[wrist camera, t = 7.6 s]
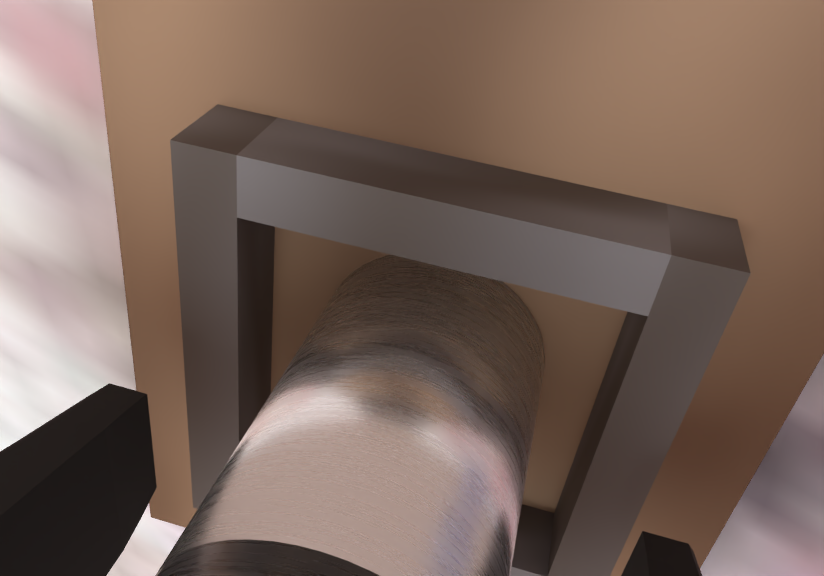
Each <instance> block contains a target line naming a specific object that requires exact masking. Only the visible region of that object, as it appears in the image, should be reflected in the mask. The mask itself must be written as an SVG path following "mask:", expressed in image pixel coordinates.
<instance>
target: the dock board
mask: <svg viewBox="0 0 824 576" xmlns="http://www.w3.org/2000/svg"><path fill="white" fill-rule="evenodd" d="M92 2H93V10H94V19H95V28H96V37H97V46H98V54H99V63H100V72H101V81H102V90H103V99H104V107H105V116H106V125H107V134H108V143H109V152H110V160H111V169H112V178H113V187H114V196H115V204H116V213H117V222H118V231H119V240H120V249H121V257H122V266H123V275H124V284H125V293H126V302H127V310H128V319H129V328H130V337H131V346H132V354H133V363H134V372H135V381H136V390H137V391H138V392H142V393H145V394H147V397H148V406H149V416H150V426H151V436H152V445H153V455H154V465H155V475H156V484H157V488H156V490H155V492H154V494H153V496H152V498H151V500H150V502H149V504H150V513H151V517H152V518H156V519H159V520H162V521H166V522H169V523H172V524H176V525H179V526H182V527H187V525H188V524H189V522H190V521H191V519H192V517H193V516H194V514H195V513H196V511H197V509H198V508H199V506H200V505H201V503H202V502H203V500H204V498H205V497H206V495H207V494H208V492H209V490H210V489H211V487H212V486H213V484H214V483H215V481H216V479H217V478H218V476H219V475H220V473H221V471H222V470H223V468H224V467H225V465H226V464H227V462H228V460H229V459H230V457H231V456H232V454H233V452H234V451H235V449H236V448H237V446H238V445H239V443H240V441H241V440H242V438H243V437H244V435H245V434H246V432H247V430H248V429H249V427H250V426H251V424H252V422H253V421H254V419H255V418H256V416H257V415H258V413H259V411H260V410H261V408H262V407H263V405H264V403H265V402H266V400H267V399H268V397H269V396H270V394H271V392H272V391H273V389H274V388H275V386H276V384H277V383H278V381H279V380H280V378H281V377H282V375H283V373H284V372H285V370H286V369H287V367H288V365H289V364H290V362H291V361H292V359H293V358H294V356H295V354H296V353H297V351H298V350H299V348H300V347H301V345H302V343H303V342H304V340H305V339H306V337H307V335H308V334H309V332H310V331H311V329H312V328H313V326H314V324H315V323H316V321H317V320H318V318H319V316H320V315H321V313H322V312H323V310H324V309H325V307H326V305H327V304H328V302H329V301H330V299H331V297H332V296H333V294H334V293H335V291H336V290H337V288H338V287H339V286H340V284H341V283H342V282H343V281H344V280H345V279H346V278H347V277H348V276H349V275H350V274H351V273H352V272H354V271H355V270H356V269H358V268H359V267H361V266H362V265H364V264H366V263H368V262H370V261H373V260H375V259H377V258H381V257H384V256H387V255H395V256H399V257H403V258H407V259H411V260H415V261H419V262H424V263H428V264H432V265H436V266H440V267H444V268H449V269H453V270H457V271H461V272H465V273H469V274H473V275H478V276H482V277H486V278H490V279H494V280H498V281H502V282H504V283H505V284H506V285H507V286H508V287H510V288H511V289H512V290H513V291H514V292H515V293H516V294H517V295H518V296H519V297H520V299H521V300H522V301H523V302H524V303H525V305H526V306H527V307H528V309H529V311H530V312H531V314H532V315H533V317H534V319H535V321H536V323H537V325H538V328H539V330H540V333H541V336H542V340H543V344H544V352H545V368H544V374H543V380H542V386H541V392H540V398H539V404H538V410H537V416H536V422H535V428H534V434H533V440H532V446H531V452H530V458H529V464H528V470H527V476H526V482H525V488H524V494H523V500H522V506H521V512H520V518H519V524H518V530H517V536H516V542H515V548H514V554H513V560H512V566H511V572H510V576H621V575H622V573H623V570H624V568H625V566H626V564H627V562H628V560H629V558H630V556H631V554H632V552H633V550H634V548H635V545H636V543H637V541H638V539H639V537H640V535H641V533H642V531H645V532H648V533H652V534H655V535H659V536H663V537H666V538H670V539H674V540H677V541H681V542H684V543H688V544H689V545H690V547H691V548H692V550H693V551H694V554H695V557H696V560H697V563H698V565H699V568H701V566H702V564H703V562H704V561H705V559H706V557H707V555H708V554H709V552H710V550H711V548H712V547H713V545H714V543H715V541H716V540H717V538H718V536H719V535H720V533H721V531H722V529H723V528H724V526H725V524H726V522H727V521H728V519H729V517H730V515H731V514H732V512H733V510H734V508H735V507H736V505H737V503H738V501H739V500H740V498H741V496H742V495H743V493H744V491H745V489H746V488H747V486H748V484H749V482H750V481H751V479H752V477H753V475H754V474H755V472H756V470H757V468H758V467H759V465H760V463H761V461H762V460H763V458H764V456H765V455H766V453H767V451H768V449H769V448H770V446H771V444H772V442H773V441H774V439H775V437H776V435H777V434H778V432H779V430H780V428H781V427H782V425H783V423H784V421H785V420H786V418H787V416H788V415H789V413H790V411H791V409H792V408H793V406H794V404H795V402H796V401H797V399H798V397H799V395H800V394H801V392H802V390H803V388H804V387H805V385H806V383H807V381H808V380H809V378H810V376H811V375H812V373H813V371H814V369H815V368H816V366H817V364H818V362H819V361H820V359H821V357H822V355H823V354H824V0H92Z"/></svg>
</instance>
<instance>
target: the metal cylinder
mask: <svg viewBox="0 0 824 576" xmlns="http://www.w3.org/2000/svg"><path fill="white" fill-rule="evenodd" d="M544 368H545V352H544V344H543V340H542V336H541V333H540V330H539V328H538V325H537V323H536V321H535V319H534V317H533V315H532V314H531V312H530V311H529V309H528V307H527V306H526V305H525V303H524V302H523V301H522V300H521V299H520V297H519V296H518V295H517V294H516V293H515V292H514V291H513V290H512V289H511V288H510V287H508V286H507V285H506V284H505V283H504V282H502V281H498V280H494V279H490V278H486V277H482V276H478V275H473V274H469V273H465V272H461V271H457V270H453V269H449V268H444V267H440V266H436V265H432V264H428V263H424V262H419V261H415V260H411V259H407V258H403V257H399V256H395V255H387V256H384V257H381V258H377V259H375V260H373V261H370V262H368V263H366V264H364V265H362V266H361V267H359V268H358V269H356V270H355V271H354V272H352V273H351V274H350V275H349V276H348V277H347V278H346V279H345V280H344V281H343V282H342V283H341V284H340V286H339V287H338V288H337V290H336V291H335V293H334V294H333V296H332V297H331V299H330V301H329V302H328V304H327V305H326V307H325V309H324V310H323V312H322V313H321V315H320V316H319V318H318V320H317V321H316V323H315V324H314V326H313V328H312V329H311V331H310V332H309V334H308V335H307V337H306V339H305V340H304V342H303V343H302V345H301V347H300V348H299V350H298V351H297V353H296V354H295V356H294V358H293V359H292V361H291V362H290V364H289V365H288V367H287V369H286V370H285V372H284V373H283V375H282V377H281V378H280V380H279V381H278V383H277V384H276V386H275V388H274V389H273V391H272V392H271V394H270V396H269V397H268V399H267V400H266V402H265V403H264V405H263V407H262V408H261V410H260V411H259V413H258V415H257V416H256V418H255V419H254V421H253V422H252V424H251V426H250V427H249V429H248V430H247V432H246V434H245V435H244V437H243V438H242V440H241V441H240V443H239V445H238V446H237V448H236V449H235V451H234V452H233V454H232V456H231V457H230V459H229V460H228V462H227V464H226V465H225V467H224V468H223V470H222V471H221V473H220V475H219V476H218V478H217V479H216V481H215V483H214V484H213V486H212V487H211V489H210V490H209V492H208V494H207V495H206V497H205V498H204V500H203V502H202V503H201V505H200V506H199V508H198V509H197V511H196V513H195V514H194V516H193V517H192V519H191V521H190V522H189V524H188V525H187V527H186V528H185V530H184V532H183V533H182V535H181V536H180V538H179V540H178V541H177V543H176V544H175V546H174V547H173V549H172V551H171V552H170V554H169V555H168V557H167V558H166V560H165V562H164V563H163V565H162V566H161V568H160V570H159V571H158V573H157V574H156V576H510V572H511V566H512V560H513V554H514V548H515V542H516V536H517V530H518V524H519V518H520V512H521V506H522V500H523V494H524V488H525V482H526V476H527V470H528V464H529V458H530V452H531V446H532V440H533V434H534V428H535V422H536V416H537V410H538V404H539V398H540V392H541V386H542V380H543V374H544Z"/></svg>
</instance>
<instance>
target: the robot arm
mask: <svg viewBox="0 0 824 576" xmlns="http://www.w3.org/2000/svg"><path fill="white" fill-rule="evenodd" d="M156 488H157V484H156V475H155V465H154V455H153V445H152V436H151V426H150V416H149V406H148V397H147V394H145V393H142V392H138V391H135V390H131V389H127V388H124V387H120V386H116V385H113V384H108V385H106V386H104V387H103V388H101V389H99V390H98V391H96V392H95V393H93V394H91V395H90V396H88V397H86V398H85V399H83V400H82V401H80V402H78V403H77V404H75V405H74V406H72V407H70V408H69V409H67V410H66V411H64V412H63V413H61V414H59V415H58V416H56V417H55V418H53V419H52V420H50V421H48V422H47V423H45V424H44V425H42V426H41V427H39V428H37V429H36V430H34V431H33V432H31V433H29V434H28V435H26V436H25V437H23V438H22V439H20V440H18V441H17V442H15V443H14V444H12V445H10V446H9V447H7V448H5V449H4V450H2V451H1V452H0V576H106V575H107V574H108V572H109V571H110V569H111V568H112V566H113V565H114V563H115V562H116V560H117V559H118V557H119V556H120V554H121V553H122V552H123V550H124V548H125V546H126V545H127V543H128V541H129V539H130V537H131V535H132V534H133V532H134V530H135V528H136V526H137V525H138V523H139V521H140V519H141V517H142V515H143V513H144V511H145V509H146V507H147V505H148V503H149V502H150V500H151V498H152V496H153V494H154V492H155V490H156ZM621 576H702V574H701V571H700V568H699V565H698V563H697V560H696V557H695V554H694V551H693V550H692V548H691V547H690V545H689V544H688V543H684V542H681V541H677V540H674V539H670V538H666V537H663V536H659V535H655V534H652V533H648V532H645V531H642V533H641V535H640V537H639V539H638V541H637V543H636V545H635V548H634V550H633V552H632V554H631V556H630V558H629V560H628V562H627V564H626V566H625V568H624V570H623V573H622V575H621Z"/></svg>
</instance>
